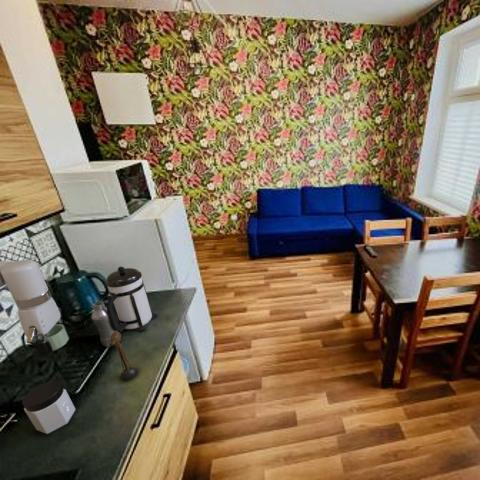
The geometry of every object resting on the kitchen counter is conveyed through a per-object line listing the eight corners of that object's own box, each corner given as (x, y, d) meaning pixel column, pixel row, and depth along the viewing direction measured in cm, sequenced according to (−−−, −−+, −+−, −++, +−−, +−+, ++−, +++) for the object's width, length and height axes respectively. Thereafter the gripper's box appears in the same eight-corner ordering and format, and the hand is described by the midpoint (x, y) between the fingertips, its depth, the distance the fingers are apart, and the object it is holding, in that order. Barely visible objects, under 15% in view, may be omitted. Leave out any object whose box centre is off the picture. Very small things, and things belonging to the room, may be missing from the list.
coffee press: (113, 323, 123) (93, 266, 111) (152, 309, 133) (137, 255, 121) (119, 345, 111) (96, 283, 99) (161, 327, 121) (145, 270, 109)
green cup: (33, 355, 85) (27, 342, 83) (47, 339, 91) (41, 326, 89) (62, 350, 87) (56, 337, 85) (73, 334, 94) (68, 322, 92)
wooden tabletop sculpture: (133, 382, 95) (118, 339, 87) (118, 385, 94) (101, 341, 86) (139, 369, 100) (124, 327, 92) (124, 371, 99) (109, 329, 91)
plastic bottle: (103, 351, 108) (87, 311, 100) (102, 341, 112) (86, 302, 105) (122, 344, 111) (108, 304, 104) (120, 335, 116) (107, 296, 109)
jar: (63, 430, 80) (48, 403, 75) (30, 437, 78) (12, 410, 73) (80, 403, 88) (67, 377, 83) (50, 409, 86) (35, 382, 81)
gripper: (35, 285, 89) (54, 327, 96) (-4, 318, 74) (22, 365, 80) (63, 282, 91) (79, 323, 98) (31, 313, 76) (53, 360, 83)
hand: (53, 342), depth 89 cm, fingers closed on green cup, 7 cm apart
